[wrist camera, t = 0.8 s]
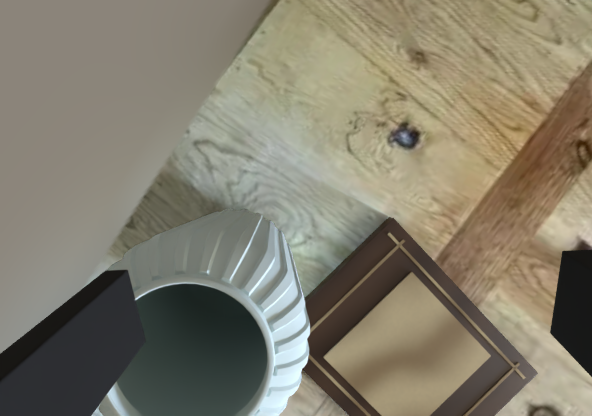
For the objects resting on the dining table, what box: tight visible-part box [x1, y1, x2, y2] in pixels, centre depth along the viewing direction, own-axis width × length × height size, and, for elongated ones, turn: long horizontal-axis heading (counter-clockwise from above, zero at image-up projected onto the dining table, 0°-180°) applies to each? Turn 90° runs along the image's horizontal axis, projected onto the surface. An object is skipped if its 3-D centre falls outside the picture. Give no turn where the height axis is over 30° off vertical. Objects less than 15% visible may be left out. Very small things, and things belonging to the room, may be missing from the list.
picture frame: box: [302, 217, 538, 416], centre depth 38 cm, size 24×18×2 cm
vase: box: [99, 208, 310, 416], centre depth 26 cm, size 12×12×22 cm
